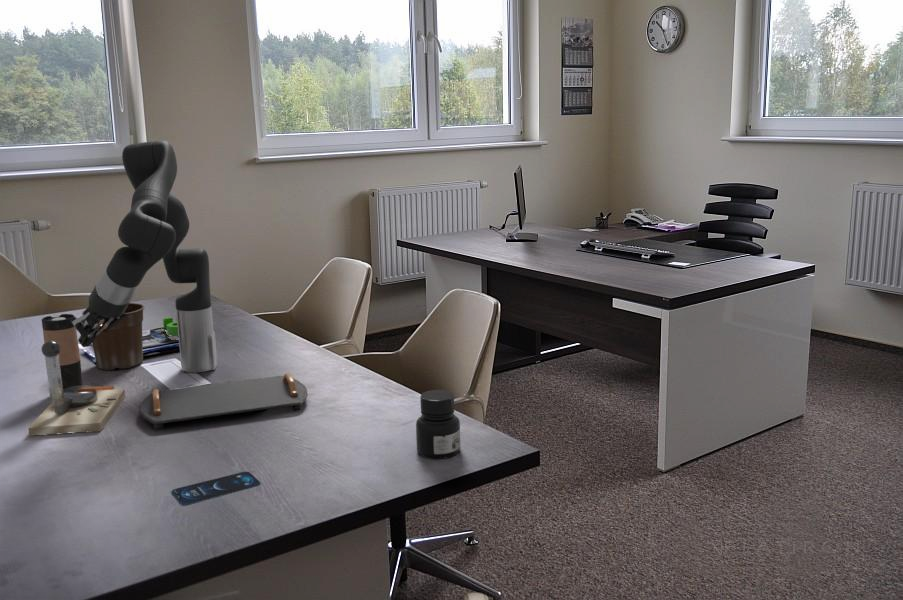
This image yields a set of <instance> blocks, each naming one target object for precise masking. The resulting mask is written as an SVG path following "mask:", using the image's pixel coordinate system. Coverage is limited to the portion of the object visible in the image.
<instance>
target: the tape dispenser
mask: <svg viewBox="0 0 903 600" xmlns="http://www.w3.org/2000/svg"><path fill="white" fill-rule="evenodd" d="M175 317H176V318H175V319H176V321H174V319H173V317H172V316H168V317H164V318H163V319H162V324H163V329H164V328H167V333H168V334H169V335H177V336H178V325H177V315H176V316H175Z"/></svg>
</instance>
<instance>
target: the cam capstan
mask: <svg viewBox="0 0 903 600" xmlns="http://www.w3.org/2000/svg"><path fill="white" fill-rule="evenodd" d="M59 352H60V346H59V344H58V343H57V342H55V341H47V342H45V343H43V344H42V345H41V354H42V355H43V356H44V360H45V368H46V376H47V384H48V390H49V391H48V392H49V397H50V404H51V406H54V409H55V414H63V413H64V412H66V411H67V410H68V409H70V408H73V407H80V406H85V405H89V404H91V403H94V402H95V401H97V399H98V396H97V391H100V390H115V386H114V385H104V386H95V385H94V386H93V385H89V384H82V385H80V386H72V387H68V388H64V389H63V386H62V378H61V370H60V362H59Z"/></svg>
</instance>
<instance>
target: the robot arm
mask: <svg viewBox="0 0 903 600" xmlns="http://www.w3.org/2000/svg"><path fill="white" fill-rule="evenodd" d="M121 159H122V160H121V161H122V164H123V167H124V170H125V173H126V175H127V178H128V180H129V181H130V184H131V185H132V187H133V189H134V192H133V195H132V197H131V205H130V211H129V212H128V213H126V215H125V216H124V218H123V219H122V220H121V222H120V224H119V226H118V230H117V236H118V238H119V240H120V242H121V243H122V244H124V245H125V246H121V247H120V248H118V249H117V250H116V251H115V252H114V254H113V256H112V257H111V260H109V263H108V265H107V267H106V268H105V270H103V272H102V273H101V274H100V276H99V279H98V280H97V282H96V283H95V285H94V287H93V289H92V291H90V292H91V293H90V295H89V296H88V307H87V308H86V309H85V310H84V312H83V311H82V312H83V315H82V314H81V316H79V317H77V316H75V317H72V318H71V319H70V320H71V322H72V323H73V325H74V326H75V328H76V331H78V332H77V333H79V334H80V336H79V338H78V344H80V345H81V347H82V348H88V347H91V345H92V342H93V341H94V339H95V338H96V336H98V335H99V334H100V333H101V332H102V331H103V332H106V331H108V330H109V329H110V328H112V327H113V326H114V325H115V324H117V323H118V322H119V321H121V320H122V319H123V318H124V317H126V313H125V312H124V311H125V310H126V308H127V306H128V305H129V303H131V302H132V300H133V298H134V296H135V295H136V293H137V292H138V288H139V286H140V284H141V282H142V280H143V279H144V277H145V276H146V274H147V272H148V271H150V269H151V268H153V266H154V265H156V263H159V261H161V260H162V262H163V265H164V269H165V271H166V275H167V277H168V279H169V281H170V282H172V283H174V284H196V287H195V288H194V289H193V290H191V291H189V292H187V293H185V294H182V295H180V296H178V297H176V299H175V312H176V313H175V314H176V316H177V321H176V322H177V325H178V336H179V340H178V344H179V345H178V347H179V352H180V353H179V356H180V366H181V370H182V371H181V372H184V371H185V372H184V373H190V372H193V373H196V374H197V373H205V372H208V371H214V370H216V369H217V366H218V356H217V355H218V354H217V352H218V351H217V345H216V344H217V341H216V331H214V323H213V322H214V321H213V309H212V301H211V298H212V297H211V286H210V285H211V284H210V260H209V259H210V258H209V256H208V252H207V250H206V249H204V248H178V247H179V246H180V245H181V244H182V242H183V241H184V240H185V239H186V237H187V234H188V233H189V230H190V220H189V217H188V215H187V210H186V207H185V205H184V204H183V202H182V201H181V200H180V199H179V198H178V197H176V196H175V195H174V194H172V193H171V191H172V190H173V186H174V184H175V183H174V182H175V180H176V177H177V173H178V161H177V157H176V153H175V149H174V148H173V146H172V144H171V143H170V142H168V141H167V140H153V141H151V140H150V141H144V142H137V143H136V142H135V143H131V144H128V145H126V146H125V147H124V148H123V149H122V155H121ZM109 323H110V324H109ZM193 373H192V374H193Z"/></svg>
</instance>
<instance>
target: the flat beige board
mask: <svg viewBox="0 0 903 600" xmlns="http://www.w3.org/2000/svg"><path fill="white" fill-rule="evenodd" d="M97 396H98V399H97V401H95V402H94V403H91V404H89V405H85V406H80V407H73V408H70V409H68V410H67V411H66V412H64V413H63V414H55V409H54V406H51V403H50V404H49V405H48V406H47V407H46V408H45V409H44V410H43V411H42V413H40V414H39V416H38V417H37V418H36V419H35V420H34V421H33V423H31V424H30V425H29V427H28V429H27V430H28V435H29V436H30V437H34V436H33V435H44V434H57V433H68V432H86V433H92V432H91V431H100V432H102V431H103V430H104V428H105V427H106V426H107V424H108V423H109V420H111V418H112V417H113V415H114V414H115V412H117V411H116V410H117V409H118V408H119V406H120V405H121V404H122V402H123V401H124V400H125V398H126V390H125V388H121V389H120V388H119V389H113V390H99V391H97ZM111 416H112V417H111ZM106 423H107V424H106ZM104 426H105V427H104ZM103 427H104V428H103ZM101 430H102V431H101ZM87 431H88V432H87ZM89 431H90V432H89ZM44 436H45V435H44Z"/></svg>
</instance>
